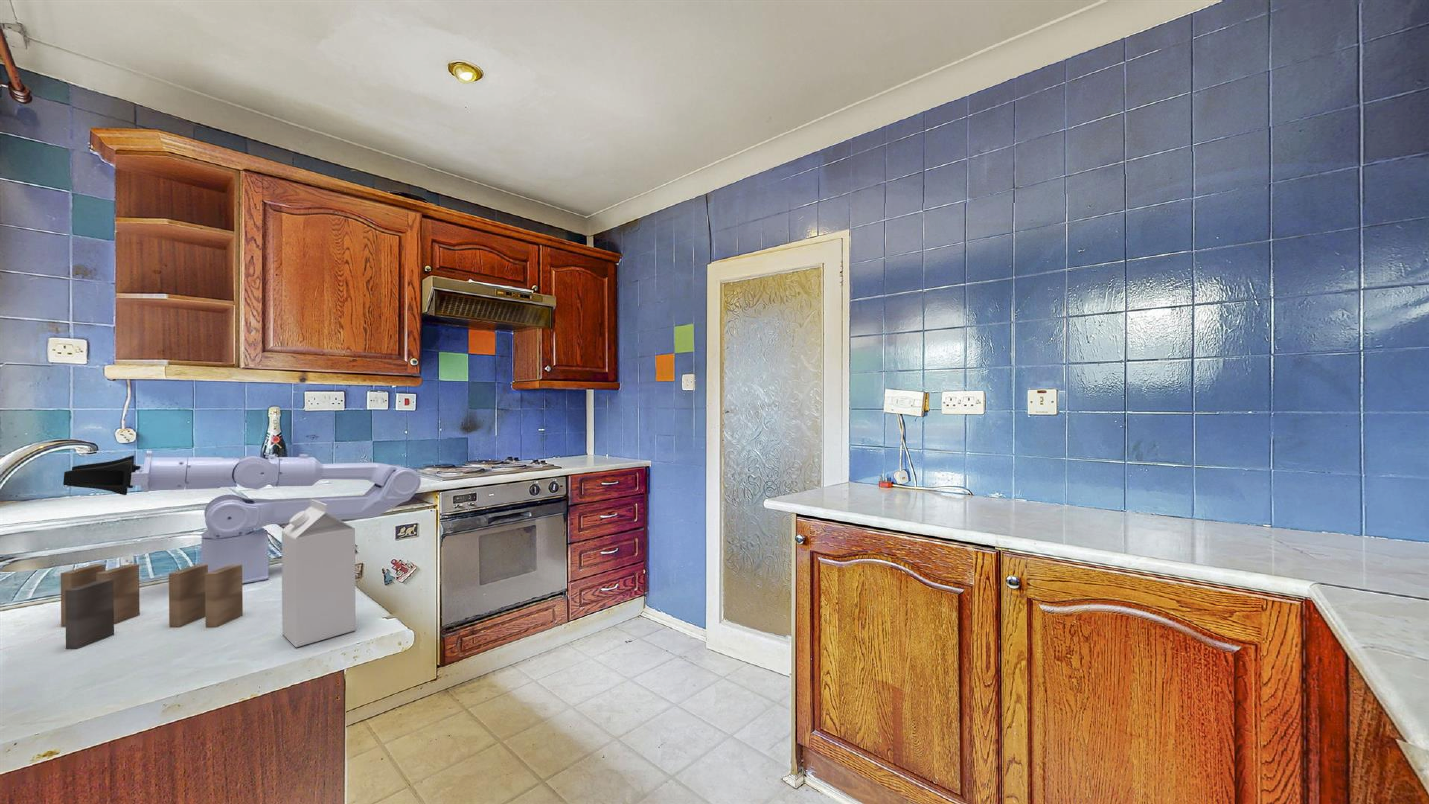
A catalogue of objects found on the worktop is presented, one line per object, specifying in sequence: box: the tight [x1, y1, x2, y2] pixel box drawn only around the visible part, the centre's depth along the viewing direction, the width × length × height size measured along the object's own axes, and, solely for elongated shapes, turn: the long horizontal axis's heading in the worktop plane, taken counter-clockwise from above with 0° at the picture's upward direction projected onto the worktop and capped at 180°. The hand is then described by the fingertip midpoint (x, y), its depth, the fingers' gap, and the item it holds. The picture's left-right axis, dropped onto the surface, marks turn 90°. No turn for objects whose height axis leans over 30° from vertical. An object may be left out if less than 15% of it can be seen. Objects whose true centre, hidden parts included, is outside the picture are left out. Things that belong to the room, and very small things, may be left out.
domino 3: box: [168, 563, 208, 628], centre depth 83 cm, size 4×2×8 cm, turn 179°
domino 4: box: [204, 565, 244, 629], centre depth 82 cm, size 4×2×8 cm, turn 179°
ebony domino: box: [65, 579, 115, 650], centre depth 76 cm, size 4×2×8 cm, turn 179°
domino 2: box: [97, 563, 141, 625], centre depth 83 cm, size 4×2×8 cm, turn 179°
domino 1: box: [60, 563, 106, 628], centre depth 83 cm, size 4×2×8 cm, turn 179°
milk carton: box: [281, 499, 357, 648], centre depth 78 cm, size 7×7×19 cm
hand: (67, 475), depth 87 cm, fingers open, 7 cm apart
